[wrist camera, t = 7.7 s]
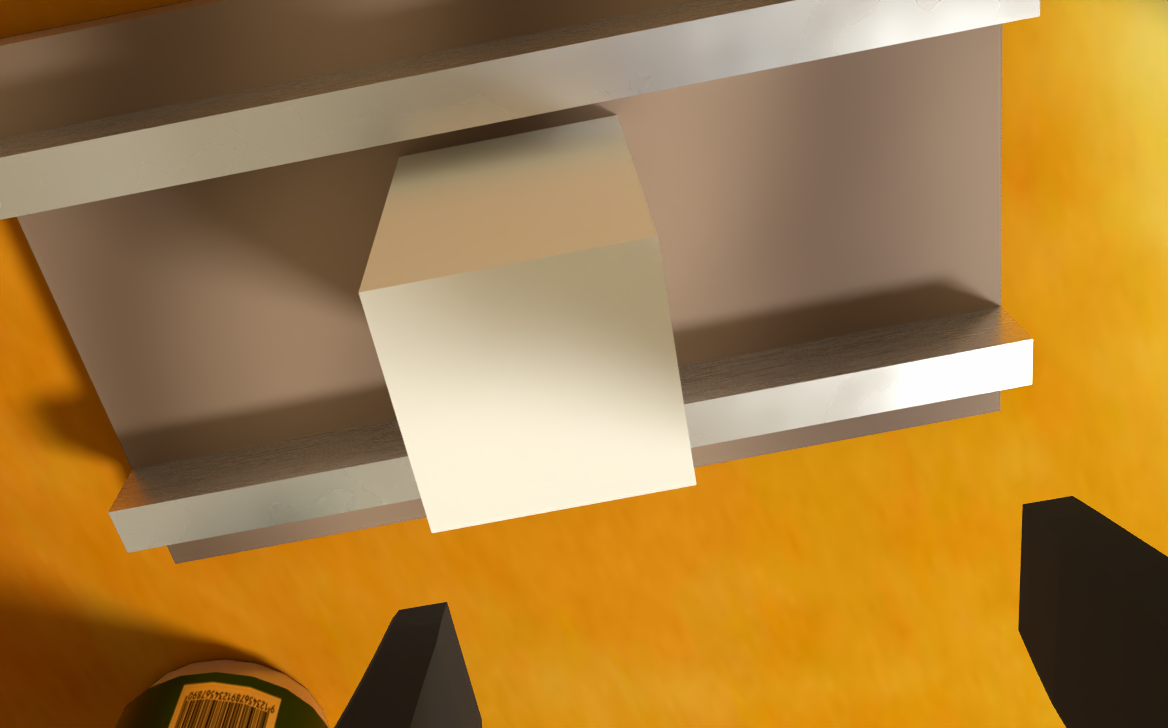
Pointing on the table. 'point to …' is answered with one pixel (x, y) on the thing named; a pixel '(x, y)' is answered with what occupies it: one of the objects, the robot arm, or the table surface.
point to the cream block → (527, 327)
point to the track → (476, 113)
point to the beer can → (224, 699)
